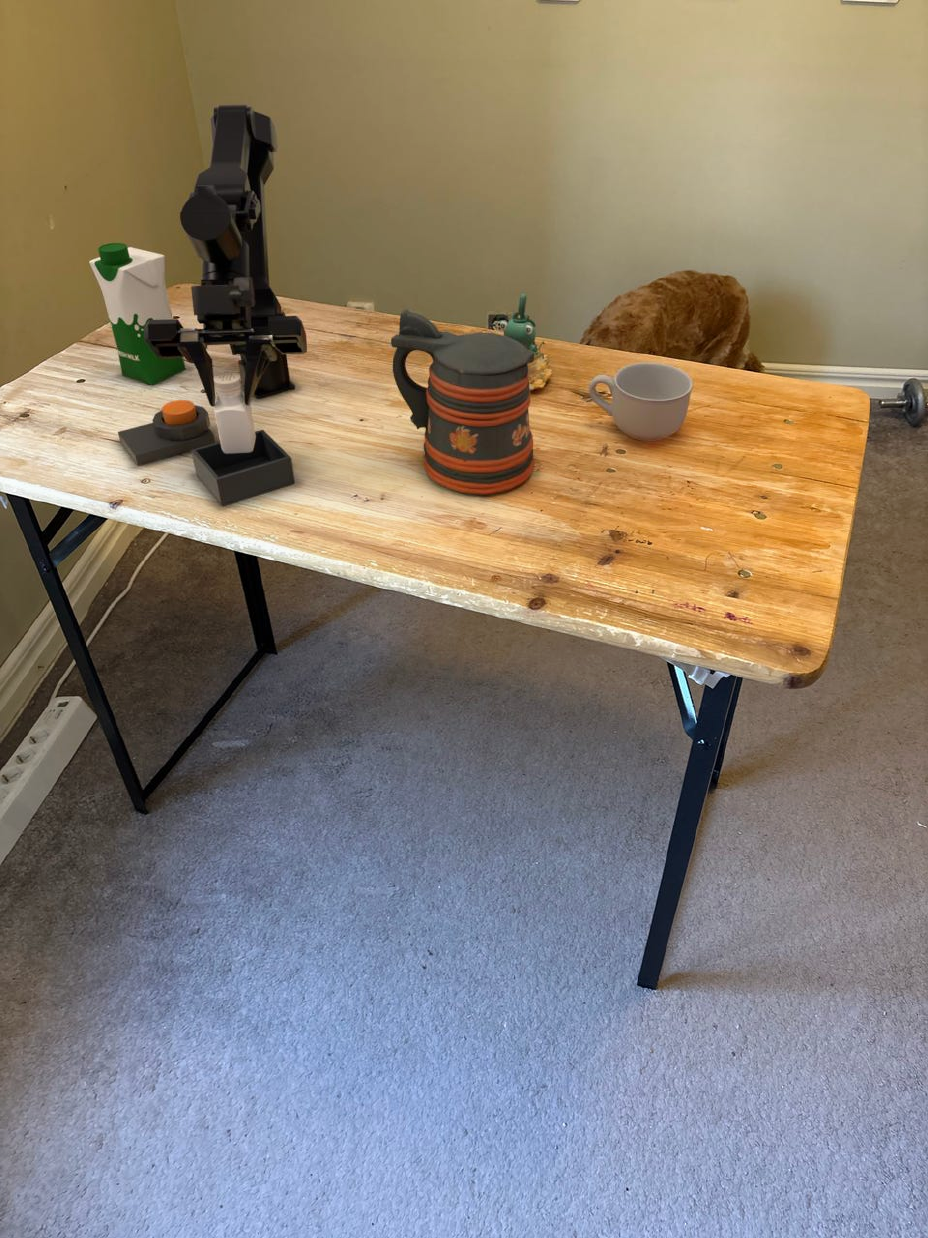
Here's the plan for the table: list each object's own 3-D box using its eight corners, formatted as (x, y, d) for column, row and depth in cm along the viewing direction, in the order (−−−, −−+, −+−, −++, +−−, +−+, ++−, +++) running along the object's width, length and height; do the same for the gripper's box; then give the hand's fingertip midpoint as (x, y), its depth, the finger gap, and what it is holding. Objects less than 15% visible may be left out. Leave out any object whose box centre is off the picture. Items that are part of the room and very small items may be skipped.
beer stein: (377, 483, 118) (365, 334, 105) (412, 431, 129) (406, 290, 116) (519, 504, 114) (525, 351, 101) (543, 448, 125) (551, 304, 112)
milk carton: (113, 376, 144) (78, 246, 131) (156, 356, 150) (127, 230, 137) (152, 389, 140) (120, 256, 127) (195, 368, 146) (168, 239, 133)
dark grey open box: (267, 455, 124) (262, 429, 121) (295, 484, 118) (291, 457, 115) (196, 476, 120) (190, 449, 117) (222, 507, 114) (216, 479, 111)
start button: (190, 408, 128) (188, 396, 127) (201, 420, 125) (199, 408, 124) (160, 416, 126) (157, 404, 125) (170, 428, 123) (167, 417, 122)
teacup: (693, 422, 130) (702, 369, 125) (673, 456, 123) (682, 401, 118) (600, 404, 135) (605, 352, 130) (576, 436, 127) (580, 383, 122)
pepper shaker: (222, 455, 114) (207, 385, 108) (226, 440, 117) (212, 370, 111) (254, 454, 115) (241, 384, 108) (257, 438, 118) (245, 369, 112)
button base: (200, 421, 132) (195, 398, 130) (220, 443, 127) (215, 420, 124) (120, 442, 127) (114, 419, 125) (138, 466, 122) (131, 443, 120)
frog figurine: (577, 367, 145) (580, 277, 135) (516, 421, 135) (514, 329, 125) (527, 352, 149) (526, 264, 139) (464, 404, 139) (457, 314, 129)
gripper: (128, 251, 104) (130, 385, 102) (292, 247, 104) (296, 379, 103) (157, 294, 115) (159, 415, 113) (305, 290, 115) (309, 410, 114)
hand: (229, 404), depth 111 cm, fingers closed on pepper shaker, 4 cm apart
